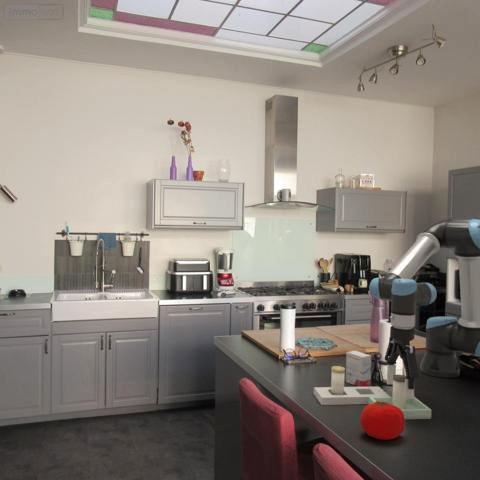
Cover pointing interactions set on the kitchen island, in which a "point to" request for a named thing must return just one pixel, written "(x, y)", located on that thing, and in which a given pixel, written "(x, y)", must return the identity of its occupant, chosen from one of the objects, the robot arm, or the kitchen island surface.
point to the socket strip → (345, 391)
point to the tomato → (382, 420)
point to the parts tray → (408, 407)
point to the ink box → (358, 369)
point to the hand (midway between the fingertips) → (399, 391)
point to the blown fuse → (399, 391)
